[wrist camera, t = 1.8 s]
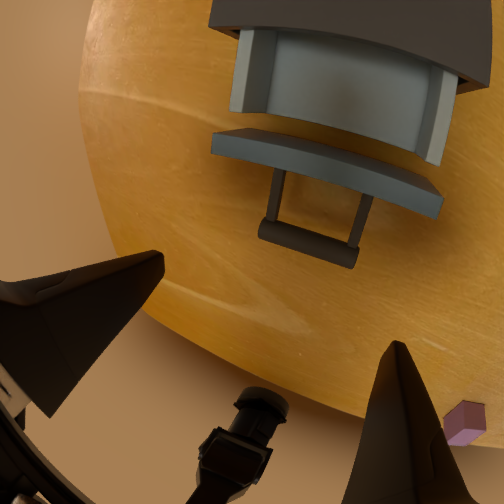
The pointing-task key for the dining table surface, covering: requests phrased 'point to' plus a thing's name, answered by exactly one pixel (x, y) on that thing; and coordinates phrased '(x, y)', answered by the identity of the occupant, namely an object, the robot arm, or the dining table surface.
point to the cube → (464, 423)
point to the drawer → (338, 125)
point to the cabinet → (380, 28)
